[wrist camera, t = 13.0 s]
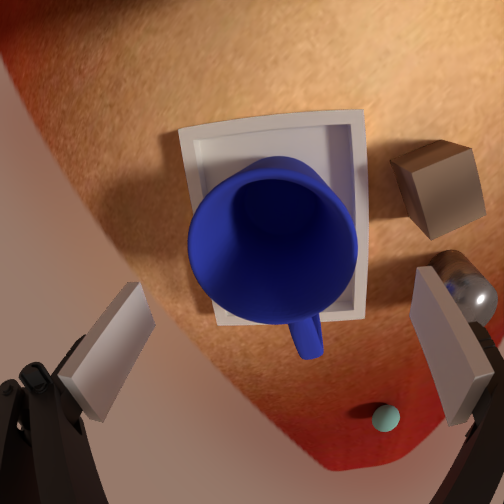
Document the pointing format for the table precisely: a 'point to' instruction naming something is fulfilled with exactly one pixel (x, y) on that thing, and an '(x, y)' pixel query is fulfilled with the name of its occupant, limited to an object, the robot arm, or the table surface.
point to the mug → (274, 247)
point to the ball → (385, 418)
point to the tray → (301, 148)
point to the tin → (466, 286)
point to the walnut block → (440, 187)
